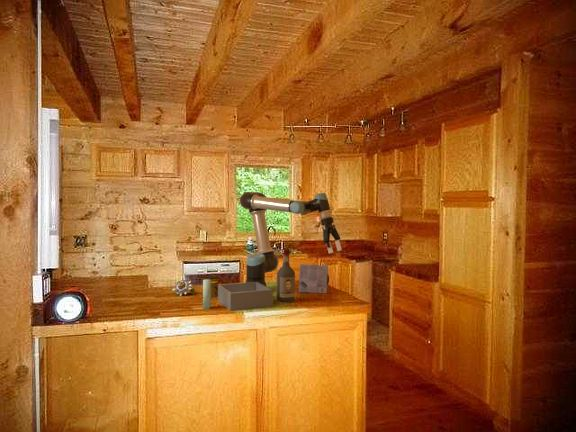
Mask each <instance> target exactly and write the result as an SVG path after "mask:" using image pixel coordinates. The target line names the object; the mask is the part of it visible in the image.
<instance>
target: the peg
mask: <svg viewBox="0 0 576 432" xmlns="http://www.w3.org/2000/svg"><path fill="white" fill-rule="evenodd" d="M211 299H212V298H211V280H210V279H209V278H206V279H205V278H204V279H203V280H202V309H203V310H208V309H211Z"/></svg>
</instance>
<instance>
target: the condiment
mask: <svg viewBox="0 0 576 432" xmlns="http://www.w3.org/2000/svg"><path fill="white" fill-rule="evenodd" d="M208 279H210V280H211V299H213V298H218V285H219V281H218V276H217V275H210V276H208Z"/></svg>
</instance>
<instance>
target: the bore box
mask: <svg viewBox="0 0 576 432" xmlns="http://www.w3.org/2000/svg"><path fill="white" fill-rule="evenodd" d="M217 301H218V302H219V303H220V304H221V305H223V306H224V307H225V308H227V310H229V311H231V312H232V311H241V310H249V309H259V308H268V307H274V306H273V305H274V290H273V289H272V288H270V287H268V286H267V287H266V286H264V285H262V284H260V283H258V282H249V283H246V282H241V283H239V282H238V283H227V284H226V283H225V284H218V297H217Z"/></svg>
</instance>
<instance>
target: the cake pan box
mask: <svg viewBox="0 0 576 432" xmlns="http://www.w3.org/2000/svg"><path fill="white" fill-rule="evenodd" d="M298 275H299V276H298V292H299V293H307V292H308V293H310V294H327V293H328V285H329V281H330V277H329V265H322V264H305V263H301V264H299V273H298Z"/></svg>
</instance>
